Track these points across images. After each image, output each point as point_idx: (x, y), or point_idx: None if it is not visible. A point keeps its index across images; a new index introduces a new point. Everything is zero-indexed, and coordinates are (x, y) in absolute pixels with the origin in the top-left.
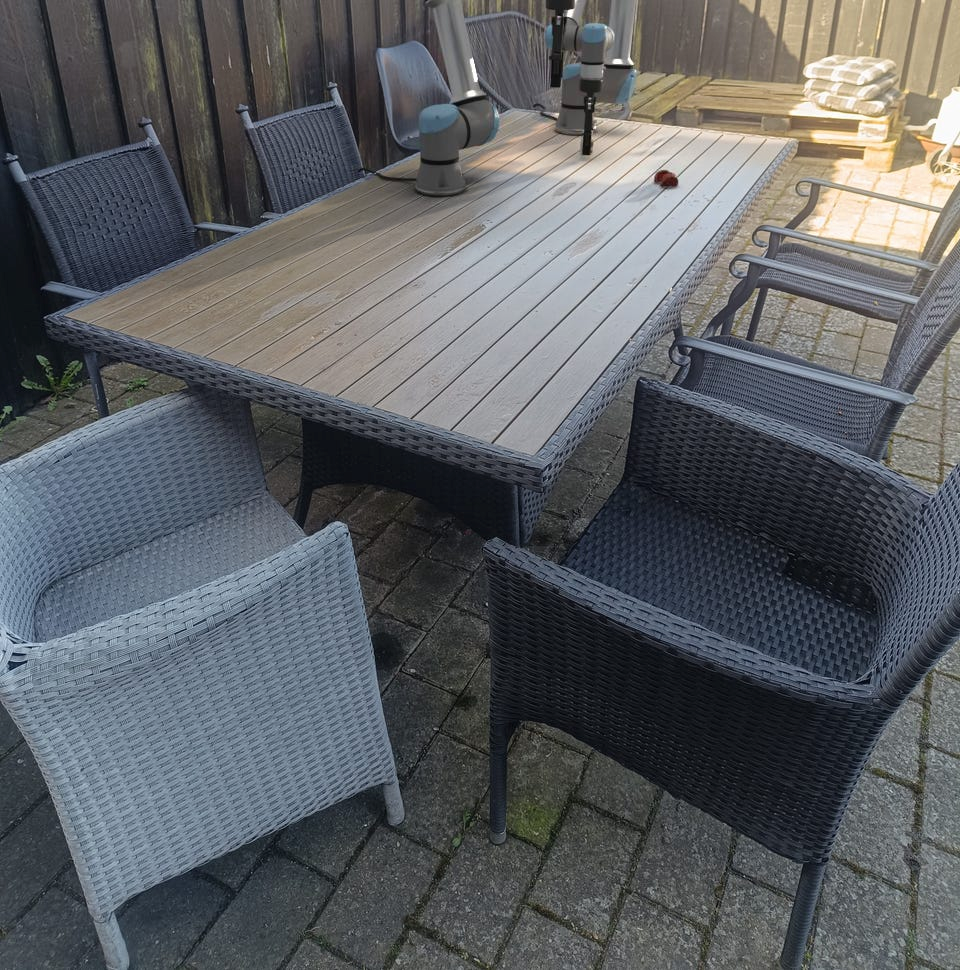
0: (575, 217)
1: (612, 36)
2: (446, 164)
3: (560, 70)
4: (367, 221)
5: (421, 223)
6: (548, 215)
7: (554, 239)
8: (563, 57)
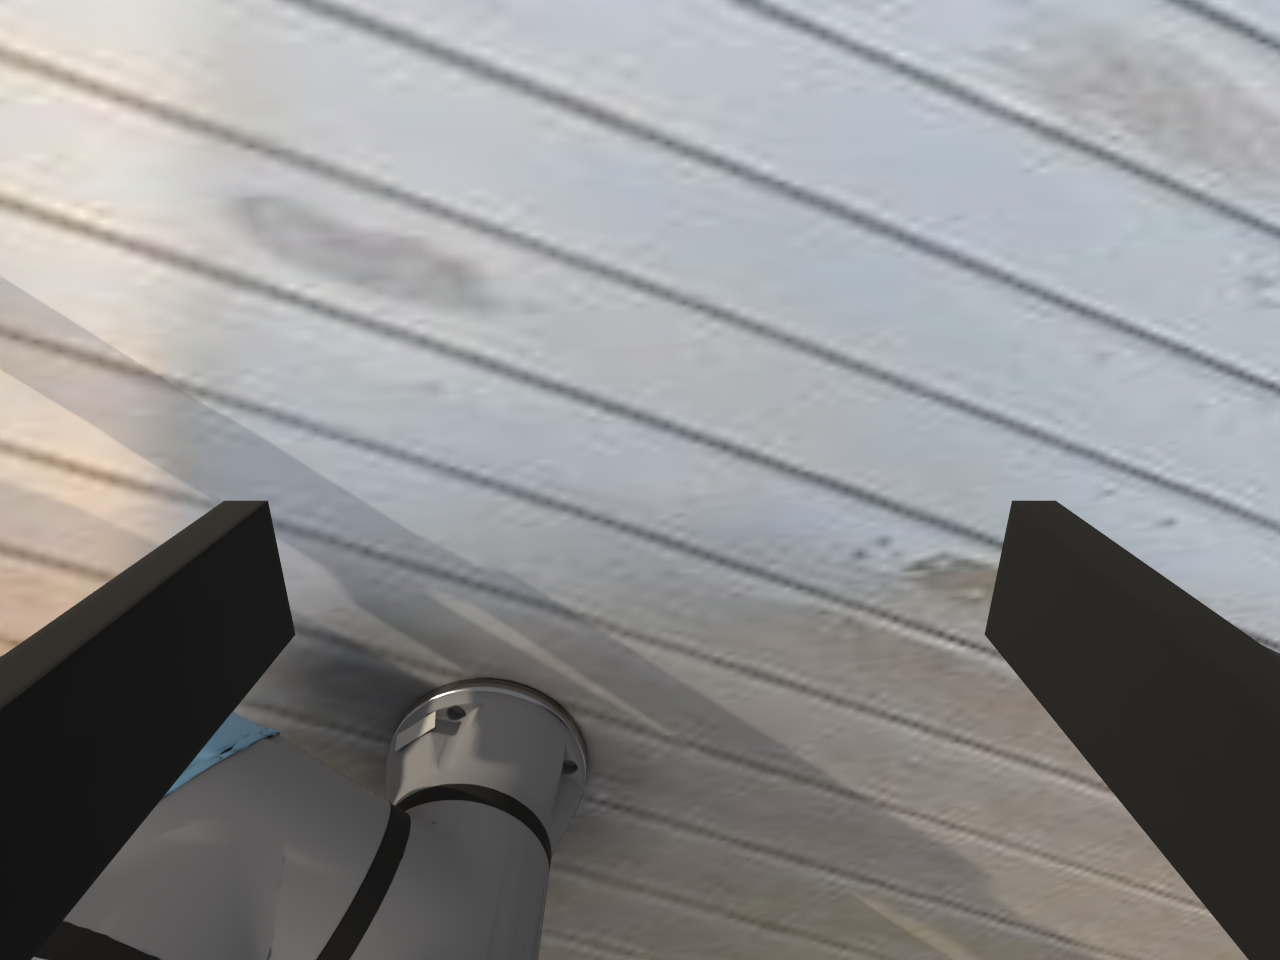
0: (807, 182)
1: None
2: (537, 820)
3: (1237, 648)
4: (869, 897)
5: (890, 759)
6: (783, 316)
7: (1109, 272)
8: (35, 687)
